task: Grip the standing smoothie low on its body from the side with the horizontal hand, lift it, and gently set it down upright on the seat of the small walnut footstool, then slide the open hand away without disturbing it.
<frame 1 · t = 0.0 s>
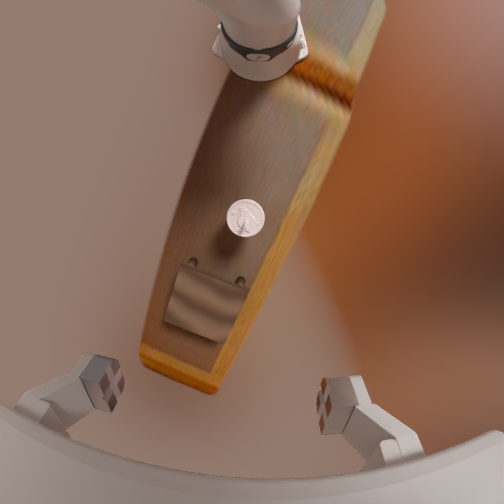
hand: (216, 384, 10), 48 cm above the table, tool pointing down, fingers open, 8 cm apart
smoothie: (248, 208, 56), on the table
stool: (209, 291, 62), on the table
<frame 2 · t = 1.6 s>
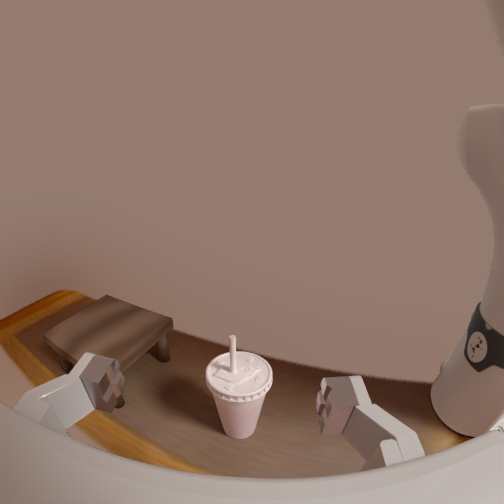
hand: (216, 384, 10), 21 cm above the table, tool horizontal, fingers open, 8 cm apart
smoothie: (239, 427, 28), on the table
stool: (115, 365, 36), on the table
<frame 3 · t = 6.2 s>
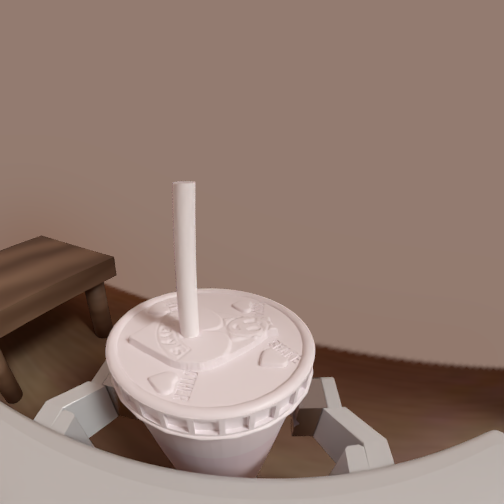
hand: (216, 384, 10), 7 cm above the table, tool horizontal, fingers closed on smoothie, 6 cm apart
smoothie: (219, 473, 11), on the table, touching gripper
stool: (32, 337, 19), on the table
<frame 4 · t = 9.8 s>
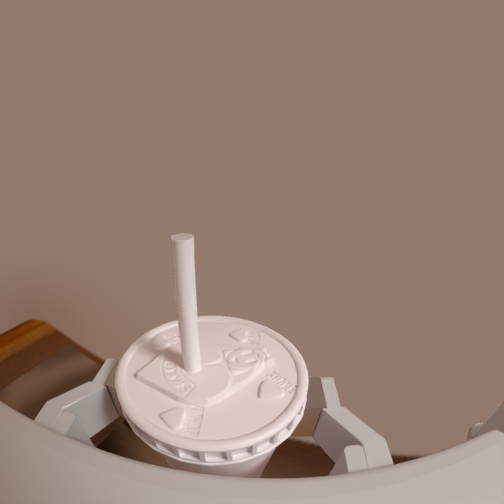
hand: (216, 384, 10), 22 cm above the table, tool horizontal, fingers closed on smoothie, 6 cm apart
smoothie: (221, 479, 12), point 14 cm above the table, touching gripper
stool: (81, 431, 24), on the table
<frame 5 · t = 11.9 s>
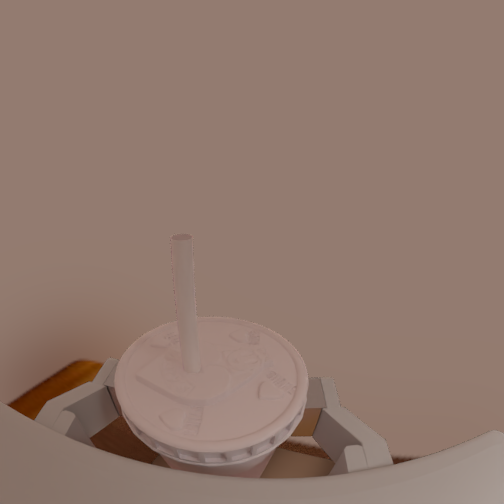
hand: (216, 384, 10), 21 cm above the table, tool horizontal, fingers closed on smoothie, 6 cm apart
smoothie: (221, 480, 12), point 13 cm above the table, touching gripper
when the fingers open (15 cm above the table, at t = 13.7 s): smoothie stays where it is, resting on stool.
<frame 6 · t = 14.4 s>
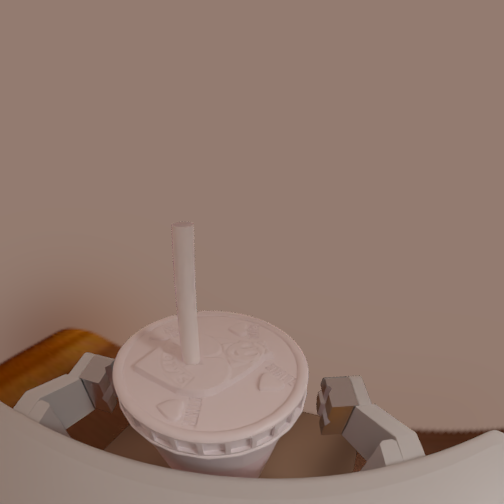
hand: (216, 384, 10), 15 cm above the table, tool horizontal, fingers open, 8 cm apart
smoothie: (220, 480, 12), point 7 cm above the table, touching stool
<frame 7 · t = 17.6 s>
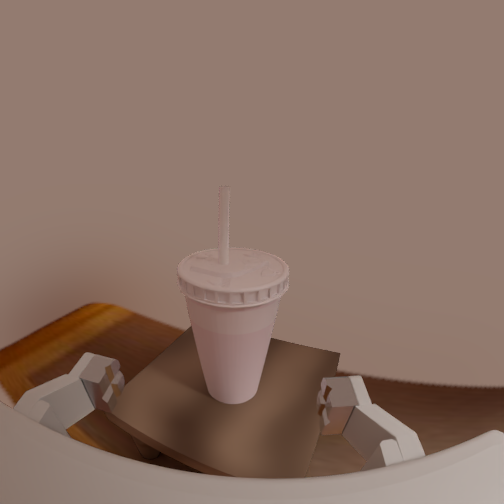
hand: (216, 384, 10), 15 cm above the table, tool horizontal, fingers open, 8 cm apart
smoothie: (232, 387, 19), point 7 cm above the table, touching stool
stool: (233, 434, 21), on the table
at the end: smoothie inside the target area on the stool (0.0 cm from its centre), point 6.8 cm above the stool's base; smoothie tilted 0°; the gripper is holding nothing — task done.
